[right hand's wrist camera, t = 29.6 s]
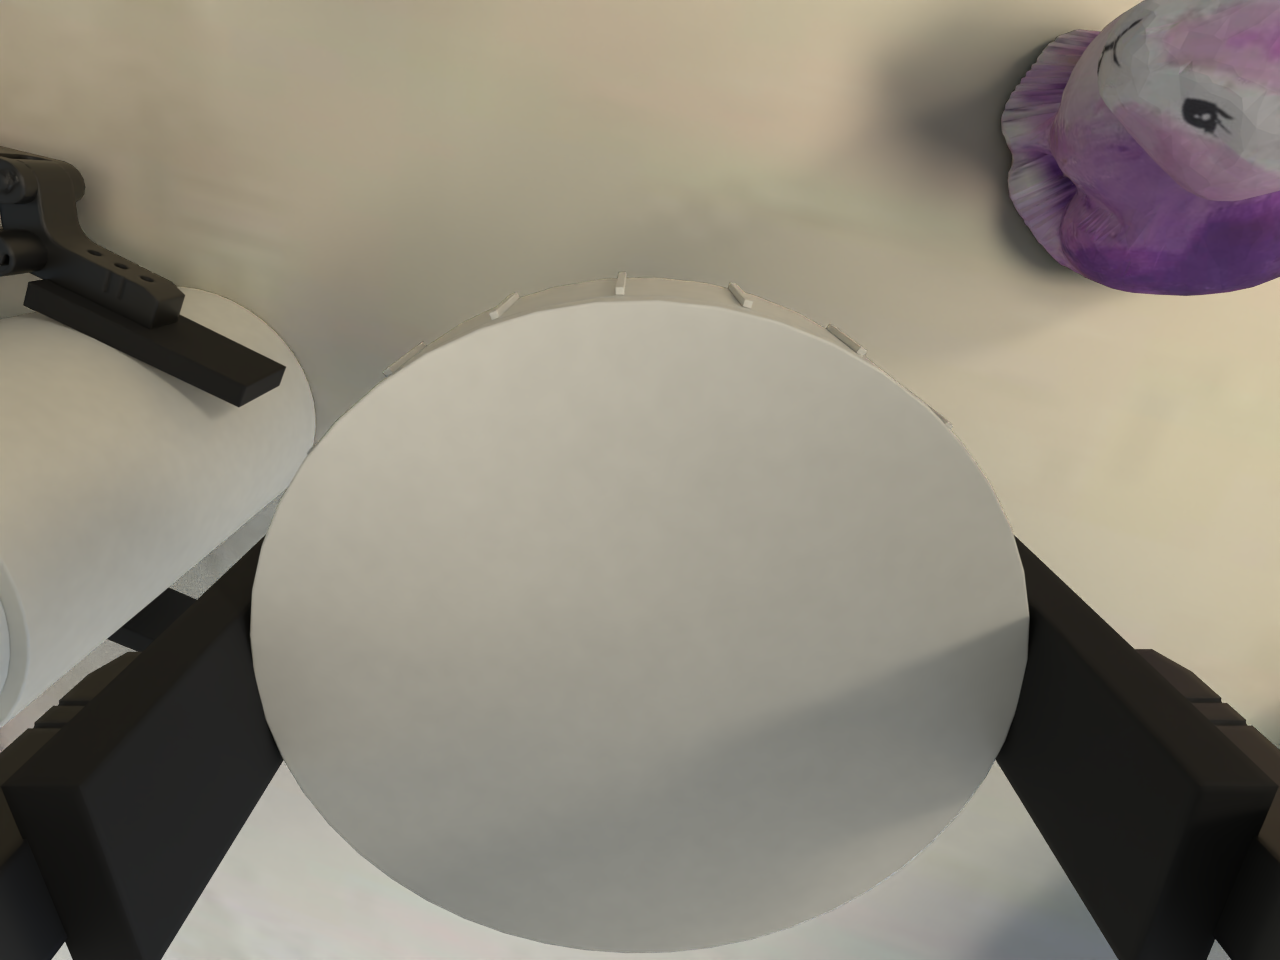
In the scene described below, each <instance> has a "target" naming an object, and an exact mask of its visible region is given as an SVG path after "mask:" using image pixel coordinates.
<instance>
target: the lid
mask: <svg viewBox="0 0 1280 960" xmlns="http://www.w3.org/2000/svg"><path fill="white" fill-rule="evenodd" d="M866 352H867V350H866V349H864V348H863V347H862V346H860V345H859V344H858V343H856V342H855V341H854V340H852V339H851V338H850V337H848V336H847V335H846V334H844V333H843V332H842V331H840V330H839V329H838V328H836V327H835V326H833V325H832V324H829V325H828V327H827V328H824V327H822V326H820V325H819V324H817V323H815V322H813V321H812V320H810V319H808V318H807V317H805V316H803V315H801V314H800V313H798V312H795V311H793V310H790V309H788V308H785V307H783V306H780V305H778V304H775V303H773V302H770V301H768V300H765V299H763V298H760V297H758V296H755V295H753V294H749V293H745V292H744V291H743V290H742V289H741V288H740V287H739V286H738V285H737V284H735V283H731V282H730V283H729V287H728V288H724V287H720V286H716V285H712V284H708V283H704V282H694V281H685V280H676V279H667V278H657V277H644V278H627V276H626V272H619V273H618V277H617V278H607V279H599V280H593V281H587V282H581V283H574V284H568V285H562V286H556V287H552V288H549V289H546V290H543V291H539V292H536V293H533V294H530V295H526V296H523V297H520V298H519V295H518V293H517V292H515V293H512V294H510V295H509V296H508V297H507V298H506V299H505V300H503V301H502V302H501V303H500V304H499V305H498V306H496V307H494V308H492V309H490V310H488V311H486V312H484V313H482V314H479V315H477V316H475V317H473V318H471V319H469V320H467V321H464V322H463V323H461V324H460V325H458V326H457V327H455V328H454V329H452V330H451V331H449V332H447V333H446V334H444V335H443V336H441V337H440V338H438V339H437V340H435V341H434V342H432V343H431V344H429V345H428V346H426V344H425V343H424V342H421V343H420V344H419V345H417V346H416V347H415V348H413V349H412V350H411V351H409V352H408V353H407V354H405V355H404V356H403V357H401V358H400V359H399V360H397V361H396V362H395V363H393V364H392V365H391V366H389V367H388V368H387V369H385V370H384V371H383V374H384V375H385V376H386V378H385V379H384V380H382V381H381V382H380V383H378V384H377V385H376V386H375V387H374V388H373V389H371V390H370V391H369V392H368V393H367V394H366V395H365V396H364V397H362V398H361V399H360V400H359V401H358V402H357V403H356V404H355V405H353V406H352V407H351V408H350V409H349V410H348V411H347V412H346V413H344V414H343V415H342V416H341V417H340V418H339V419H338V420H337V421H336V422H335V423H334V424H333V425H332V427H331V428H330V429H329V430H328V431H327V433H326V434H325V435H324V436H323V437H322V439H321V440H320V441H319V442H317V443H316V444H315V445H314V446H312V447H311V448H310V449H309V451H308V452H307V455H308V456H307V457H306V458H305V459H304V461H303V462H302V464H301V466H300V467H299V469H298V471H297V472H296V474H295V476H294V477H293V479H292V481H291V483H290V484H289V486H288V488H287V489H286V491H285V493H284V494H283V496H282V498H281V499H280V501H279V503H278V506H277V508H276V511H275V513H274V516H273V518H272V521H271V523H270V526H269V529H268V531H267V534H266V536H265V539H264V541H263V544H262V547H261V551H260V556H259V561H258V565H257V570H256V575H255V579H254V584H253V588H252V602H251V621H250V642H251V651H252V660H253V668H254V673H255V678H256V682H257V686H258V690H259V694H260V698H261V702H262V706H263V711H264V715H265V719H266V721H267V724H268V726H269V728H270V731H271V733H272V735H273V738H274V740H275V742H276V745H277V747H278V749H279V752H280V754H281V756H282V758H283V760H284V761H285V763H286V765H287V766H288V768H289V770H290V771H291V773H292V774H293V776H294V778H295V779H296V781H297V783H298V784H299V786H300V788H301V789H302V791H303V793H304V794H305V795H306V796H307V798H308V799H309V800H310V801H311V802H312V804H313V805H314V806H315V807H316V809H317V810H318V811H319V812H320V814H321V815H322V816H323V817H324V819H325V820H326V821H327V822H328V824H329V825H330V826H331V827H332V828H333V829H334V830H335V831H336V832H337V833H338V834H339V835H340V836H341V837H342V838H343V839H344V840H346V841H347V842H348V843H349V844H350V845H351V846H352V847H353V848H354V849H355V850H356V851H357V852H358V853H359V854H360V855H361V856H363V857H364V858H365V859H367V860H368V861H369V862H370V863H372V864H373V865H374V866H376V867H377V868H378V869H380V870H381V871H382V872H383V873H385V874H386V875H387V876H389V877H390V878H391V879H393V880H394V881H396V882H398V883H399V884H401V885H402V886H404V887H406V888H407V889H409V890H411V891H412V892H414V893H415V894H417V895H419V896H420V897H422V898H424V899H425V900H427V901H429V902H431V903H433V904H435V905H437V906H439V907H441V908H444V909H446V910H448V911H450V912H452V913H454V914H456V915H458V916H460V917H462V918H464V919H467V920H470V921H473V922H475V923H478V924H481V925H484V926H486V927H489V928H492V929H495V930H497V931H500V932H503V933H506V934H510V935H514V936H518V937H522V938H526V939H529V940H533V941H537V942H541V943H545V944H551V945H557V946H564V947H570V948H576V949H582V950H591V951H605V952H619V953H657V952H676V951H685V950H695V949H704V948H712V947H717V946H722V945H727V944H732V943H737V942H741V941H746V940H751V939H755V938H758V937H761V936H765V935H768V934H771V933H775V932H778V931H781V930H785V929H788V928H791V927H794V926H796V925H799V924H801V923H804V922H806V921H808V920H811V919H813V918H816V917H818V916H821V915H823V914H825V913H828V912H830V911H832V910H834V909H836V908H838V907H840V906H842V905H843V904H845V903H847V902H849V901H851V900H853V899H855V898H857V897H858V896H860V895H862V894H864V893H866V892H868V891H869V890H871V889H872V888H874V887H875V886H877V885H878V884H880V883H881V882H882V881H884V880H885V879H887V878H888V877H890V876H891V875H893V874H894V873H896V872H897V871H899V870H900V869H902V868H903V867H904V866H905V865H906V864H908V863H909V862H910V861H911V860H912V859H913V858H915V857H916V856H917V855H918V854H919V853H920V852H922V851H923V850H924V849H925V848H926V847H928V846H929V845H930V844H931V843H932V842H933V841H934V840H935V839H936V838H937V837H938V836H939V835H940V834H941V833H942V832H943V831H944V829H945V828H946V827H947V826H948V825H949V824H950V823H951V822H952V821H953V820H954V819H955V818H956V817H957V815H958V814H959V813H960V812H961V811H962V810H963V808H964V807H965V805H966V804H967V803H968V801H969V800H970V799H971V797H972V796H973V794H974V793H975V792H976V790H977V789H978V787H979V786H980V785H981V783H982V782H983V780H984V779H985V778H986V776H987V774H988V772H989V770H990V768H991V766H992V764H993V763H994V761H995V759H996V757H997V755H998V753H999V751H1000V749H1001V748H1002V746H1003V744H1004V742H1005V740H1006V737H1007V734H1008V731H1009V729H1010V726H1011V723H1012V720H1013V718H1014V715H1015V711H1016V707H1017V704H1018V699H1019V695H1020V690H1021V686H1022V682H1023V677H1024V673H1025V668H1026V664H1027V659H1028V640H1029V609H1028V600H1027V591H1026V583H1025V574H1024V569H1023V566H1022V562H1021V559H1020V555H1019V552H1018V548H1017V545H1016V541H1015V538H1014V534H1013V531H1012V527H1011V525H1010V523H1009V521H1008V519H1007V517H1006V515H1005V513H1004V510H1003V508H1002V506H1001V504H1000V502H999V500H998V498H997V496H996V493H995V491H994V489H993V487H992V485H991V483H990V482H989V480H988V479H987V478H986V476H985V475H984V473H983V472H982V470H981V469H980V467H979V466H978V464H977V463H976V461H975V460H974V458H973V457H972V456H971V454H970V453H969V451H968V450H967V448H966V447H965V445H964V444H963V443H962V442H961V440H960V439H959V438H958V437H957V436H956V435H955V434H954V433H953V432H952V431H951V430H950V429H951V428H952V427H953V426H952V424H951V423H950V422H949V421H948V420H946V419H945V418H944V417H943V416H941V415H940V414H939V413H937V412H936V411H935V410H934V409H932V408H931V407H930V406H929V405H927V404H926V403H925V402H923V401H922V400H921V399H920V398H918V397H917V396H916V395H914V394H913V393H912V392H911V391H909V390H908V389H906V388H905V387H904V386H902V385H901V384H900V383H898V382H897V381H896V380H895V379H893V378H892V377H891V376H889V375H888V374H887V373H886V372H884V371H883V370H882V369H881V368H879V367H878V366H877V365H875V364H874V363H873V362H872V361H870V360H869V359H868V358H866V357H865V356H864V355H865V354H866Z"/></svg>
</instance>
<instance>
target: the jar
mask: <svg viewBox="0 0 1280 960" xmlns="http://www.w3.org/2000/svg"><path fill="white" fill-rule="evenodd" d="M177 288H178V289H179V290H180V291H182V292H183V293H184V294H185V298H184V301H183V304H182V308H181V311H180V315H182V316H184V317H186V318H188V319H190V320H192V321H194V322H196V323H198V324H200V325H202V326H204V327H206V328H209V329H211V330H213V331H215V332H217V333H219V334H221V335H223V336H225V337H227V338H229V339H231V340H233V341H235V342H237V343H239V344H241V345H243V346H245V347H247V348H249V349H251V350H253V351H255V352H257V353H260V354H262V355H264V356H266V357H268V358H270V359H272V360H274V361H276V362H278V363H280V364H282V365H284V366H286V369H285V372H284V375H283V377H282V380H281V383H280V385H279V386H278V387H276V388H274V389H272V390H271V391H269V392H267V393H265V394H263V395H261V396H259V397H258V398H256V399H254V400H252V401H250V402H248V403H247V404H245V405H243V406H241V407H237V406H234V405H232V404H230V403H228V402H226V401H224V400H222V399H220V398H218V397H216V396H213V395H211V394H209V393H207V392H205V391H203V390H201V389H199V388H197V387H194V386H192V385H190V384H188V383H186V382H184V381H182V380H180V379H178V378H176V377H173V376H171V375H169V374H167V373H165V372H163V371H161V370H159V369H157V368H155V367H152V366H150V365H148V364H146V363H144V362H142V361H140V360H138V359H136V358H133V357H131V356H129V355H127V354H125V353H123V352H121V351H119V350H117V349H115V348H112V347H110V346H108V345H106V344H104V343H102V342H100V341H98V340H96V339H94V338H92V337H89V336H87V335H85V334H83V333H81V332H79V331H77V330H75V329H72V328H70V327H68V326H66V325H64V324H62V323H60V322H58V321H56V320H54V319H51V318H49V317H47V316H45V315H43V314H41V313H39V312H33V313H28V314H23V315H18V316H13V317H8V318H3V319H0V728H1V727H2V726H4V725H5V724H6V723H7V722H8V721H10V720H11V719H12V718H13V717H14V716H16V715H17V714H18V713H19V712H20V711H21V710H23V709H24V708H25V707H26V706H27V705H29V704H30V703H31V702H32V701H33V700H35V699H36V698H37V697H38V696H39V695H41V694H42V693H43V692H44V691H45V690H47V689H48V688H49V687H50V686H51V685H53V684H54V683H55V682H56V681H57V680H58V679H60V678H61V677H62V676H63V675H64V674H66V673H67V672H68V671H69V670H70V669H72V668H73V667H74V666H75V665H76V664H78V663H79V662H80V661H81V660H82V659H84V658H85V657H86V656H87V655H88V654H90V653H91V652H92V651H93V650H94V649H96V648H97V647H98V646H99V645H100V644H101V643H103V642H104V641H105V640H106V639H107V638H109V637H110V636H111V635H112V634H113V633H115V632H116V631H117V630H118V629H119V628H121V627H122V626H123V625H124V624H125V623H127V622H128V621H129V620H130V619H131V618H133V617H134V616H135V615H136V614H137V613H138V612H140V611H141V610H142V609H143V608H144V607H146V606H147V605H148V604H149V603H150V602H152V601H153V600H154V599H155V598H156V597H158V596H159V595H160V594H161V593H162V592H164V591H165V590H166V589H167V588H168V587H170V586H171V585H172V584H173V583H174V582H176V581H177V580H178V579H179V578H180V577H181V576H183V575H184V574H185V573H186V572H187V571H189V570H190V569H191V568H192V567H193V566H195V565H196V564H197V563H198V562H199V561H201V560H202V559H203V558H204V557H205V556H207V555H208V554H209V553H210V552H211V551H213V550H214V549H215V548H216V547H217V546H218V545H220V544H221V543H222V542H223V541H224V540H226V539H227V538H228V537H229V536H230V535H232V534H233V533H234V532H235V531H236V530H238V529H239V528H240V527H241V526H242V525H244V524H245V523H246V522H247V521H248V520H250V519H251V518H252V517H253V516H254V515H256V514H257V513H258V512H259V511H260V510H261V509H263V508H264V507H265V506H266V505H267V504H269V503H270V502H271V501H272V500H273V499H275V498H276V497H277V496H278V495H279V494H281V493H282V492H283V491H284V490H285V489H287V488H288V486H289V484H290V483H291V481H292V479H293V477H294V476H295V474H296V472H297V471H298V469H299V467H300V466H301V464H302V462H303V461H304V459H305V458H306V457H307V456H308V455H307V452H308V451H309V449H310V448H311V447H312V446H313V443H314V436H315V429H316V425H315V408H314V401H313V397H312V393H311V390H310V386H309V383H308V381H307V379H306V376H305V374H304V371H303V369H302V368H301V366H300V364H299V362H298V361H297V359H296V357H295V356H294V354H293V353H292V351H291V350H290V349H289V347H288V346H287V344H286V343H285V342H284V341H283V340H282V339H281V338H280V336H279V335H278V334H277V333H276V332H275V331H274V330H273V329H272V328H271V327H270V326H268V325H267V324H266V323H265V322H264V321H263V320H262V319H260V318H259V317H258V316H256V315H255V314H253V313H252V312H251V311H249V310H248V309H246V308H244V307H242V306H241V305H239V304H237V303H235V302H233V301H232V300H229V299H227V298H224V297H222V296H220V295H217V294H214V293H211V292H207V291H204V290H200V289H194V288H188V287H177Z"/></svg>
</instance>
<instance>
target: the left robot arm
mask: <svg viewBox="0 0 1280 960" xmlns="http://www.w3.org/2000/svg"><path fill="white" fill-rule="evenodd" d="M84 191H85V184H84V179H83V177H82V176H81V174H80V172H79V171H78V170H77V169H76V168H75V167H74V166H73V165H71V164H69V163H66V162H64V161H60V160H56V159H52V158H47V157H43V156H39V155H35V154H31V153H27V152H22V151H18V150H14V149H10V148H6V147H2V146H0V215H1V221H2V227H0V276H8V275H15V274H22V273H31V274H33V275H35V276H37V277H39V278H41V279H43V280H38V281H32V282H28V287H27V291H26V296H25V300H24V304H23V305H24V306H26V307H28V308H30V309H33V310H35V311H37V312H39V313H41V314H43V315H45V316H47V317H49V318H51V319H54V320H56V321H58V322H60V323H62V324H64V325H66V326H68V327H70V328H72V329H75V330H77V331H79V332H81V333H83V334H85V335H87V336H89V337H92V338H94V339H96V340H98V341H100V342H102V343H104V344H106V345H108V346H110V347H112V348H115V349H117V350H119V351H121V352H123V353H125V354H127V355H129V356H131V357H133V358H136V359H138V360H140V361H142V362H144V363H146V364H148V365H150V366H152V367H155V368H157V369H159V370H161V371H163V372H165V373H167V374H169V375H171V376H173V377H176V378H178V379H180V380H182V381H184V382H186V383H188V384H190V385H192V386H194V387H197V388H199V389H201V390H203V391H205V392H207V393H209V394H211V395H213V396H216V397H218V398H220V399H222V400H224V401H226V402H228V403H230V404H232V405H234V406H237V407H241V406H243V405H245V404H247V403H248V402H250V401H252V400H254V399H256V398H258V397H259V396H261V395H263V394H265V393H267V392H269V391H271V390H272V389H274V388H276V387H278V386H279V385H280V383H281V380H282V377H283V375H284V372H285V369H286V366H284V365H282V364H280V363H278V362H276V361H274V360H272V359H270V358H268V357H266V356H264V355H262V354H260V353H257V352H255V351H253V350H251V349H249V348H247V347H245V346H243V345H241V344H239V343H237V342H235V341H233V340H231V339H229V338H227V337H225V336H223V335H221V334H219V333H217V332H215V331H213V330H211V329H209V328H206V327H204V326H202V325H200V324H198V323H196V322H194V321H192V320H190V319H188V318H186V317H184V316H182V315H180V311H181V308H182V304H183V301H184V298H185V294H184V293H183V292H182V291H180V290H179V289H178V288H177V287H176V286H175V285H174V284H173V283H172V282H171V281H169V280H167V279H165V278H163V277H161V276H159V275H157V274H154V273H152V272H151V271H149V270H147V269H145V268H143V267H139V265H137V264H135V263H133V262H131V261H129V260H127V259H125V258H123V257H121V256H119V255H117V254H115V253H113V252H111V251H109V250H107V249H105V248H103V247H100V246H98V245H97V244H95V243H94V242H92V241H91V240H90V239H89V238H88V237H87V236H86V235H85V234H84V232H83V231H82V229H81V227H80V225H79V222H78V218H77V210H76V201H78V200H80V199H81V198H82V196H83V195H84ZM195 601H196V599H194V598H192V597H189V596H187V595H185V594H182V593H180V592H178V591H175V590H173V589H171V588H167V589H166V590H165V591H164V592H162V593H161V594H160V595H159V596H158V597H156V598H155V599H154V600H153V601H152V602H150V603H149V604H148V605H147V606H146V607H144V608H143V609H142V610H141V611H140V612H138V613H137V614H136V615H135V616H134V617H133V618H131V619H130V620H129V621H128V622H127V623H125V624H124V625H123V626H122V627H121V628H119V629H118V630H117V631H116V632H115V633H113V634H112V635H111V636H110V637H109V638H107V639H108V640H111V641H113V642H116V643H118V644H121V645H123V646H126V647H128V648H130V649H133V650H135V651H138V652H143V651H144V650H145V649H146V648H147V647H148V646H149V645H150V644H151V643H152V642H153V641H154V640H155V639H156V638H157V637H158V636H159V635H161V634H162V633H163V632H164V631H165V630H166V629H167V628H168V627H169V626H170V625H171V624H172V623H173V622H174V621H175V620H176V619H177V618H178V617H180V616H181V615H182V614H183V613H184V612H185V611H186V610H187V609H188V608H189V607H190V606H191V605H192V604H193V603H194V602H195Z"/></svg>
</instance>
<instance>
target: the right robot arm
mask: <svg viewBox="0 0 1280 960" xmlns="http://www.w3.org/2000/svg"><path fill="white" fill-rule="evenodd" d="M265 536H266V535H265ZM265 536H264V537H263V538H262V539H261V540H260V541H259V542H258V543H257V544H256V545H254V546H253V547H252V548H251V549H250V550H249V551H248V552H247V553H246V554H245V555H244V556H243V557H242V558H241V559H240V560H239V561H238V562H237V563H235V564H234V565H233V566H232V567H231V568H230V569H229V570H228V571H227V572H226V573H225V574H224V575H223V576H222V577H221V578H220V579H219V580H218V581H216V582H215V583H214V584H213V585H212V586H211V587H210V588H209V589H208V590H207V591H206V592H205V593H204V594H203V595H202V596H201V597H200V598H199V599H197V600H196V601H195V602H194V603H193V604H192V605H191V606H190V607H189V608H188V609H187V610H186V611H185V612H184V613H183V614H182V615H181V616H180V617H178V618H177V619H176V620H175V621H174V622H173V623H172V624H171V625H170V626H169V627H168V628H167V629H166V630H165V631H164V632H163V633H162V634H161V635H159V636H158V637H157V638H156V639H155V640H154V641H153V642H152V643H151V644H150V645H149V646H148V647H147V648H146V649H145V650H144V651H143V652H127V653H125V654H123V655H122V656H120V657H118V658H116V659H115V660H113V661H111V662H109V663H108V664H106V665H104V666H102V667H101V668H99V669H97V670H95V671H93V672H92V673H90V674H88V675H87V676H86V677H85V678H84V679H83V680H82V681H81V682H79V683H78V684H77V685H76V686H75V687H74V688H73V689H72V690H70V691H69V692H68V693H67V694H66V695H65V696H64V697H63V698H62V699H60V700H59V705H58V706H53V707H51V708H50V709H49V710H48V711H47V712H46V713H45V714H44V715H43V716H41V717H40V718H39V719H38V720H37V721H36V722H35V725H34V728H28V729H27V730H26V731H25V732H24V733H22V734H21V735H20V736H19V737H18V738H17V739H16V740H15V741H14V742H12V743H11V744H10V745H9V746H8V747H7V748H6V749H5V750H3V751H2V752H1V753H0V960H51V959H52V958H53V957H54V955H55V954H56V953H57V951H58V950H59V949H60V947H61V946H62V945H63V943H64V942H66V945H67V947H68V949H69V952H70V954H71V956H72V959H73V960H161V959H162V957H163V955H164V954H165V952H166V950H167V949H168V947H169V946H170V944H171V942H172V941H173V939H174V937H175V936H176V934H177V933H178V931H179V929H180V928H181V926H182V924H183V923H184V921H185V920H186V918H187V916H188V915H189V913H190V911H191V910H192V908H193V907H194V905H195V903H196V902H197V900H198V898H199V897H200V895H201V894H202V892H203V890H204V889H205V887H206V885H207V884H208V882H209V880H210V879H211V877H212V876H213V874H214V872H215V871H216V869H217V867H218V866H219V864H220V863H221V861H222V859H223V858H224V856H225V854H226V853H227V851H228V850H229V848H230V846H231V845H232V843H233V841H234V840H235V838H236V837H237V835H238V833H239V832H240V830H241V828H242V827H243V825H244V824H245V822H246V820H247V819H248V817H249V815H250V814H251V812H252V810H253V809H254V807H255V806H256V804H257V802H258V801H259V799H260V797H261V796H262V794H263V793H264V791H265V789H266V788H267V786H268V784H269V783H270V781H271V780H272V778H273V776H274V775H275V773H276V771H277V770H278V768H279V767H280V765H281V763H282V762H283V758H282V756H281V754H280V752H279V749H278V747H277V745H276V742H275V740H274V738H273V735H272V733H271V731H270V728H269V726H268V724H267V721H266V719H265V715H264V711H263V706H262V702H261V698H260V694H259V690H258V686H257V682H256V678H255V673H254V668H253V660H252V651H251V642H250V621H251V602H252V588H253V584H254V579H255V575H256V570H257V565H258V561H259V556H260V551H261V547H262V544H263V541H264V539H265ZM1014 538H1015V541H1016V545H1017V548H1018V552H1019V555H1020V559H1021V562H1022V566H1023V569H1024V574H1025V583H1026V591H1027V600H1028V609H1029V640H1028V659H1027V664H1026V668H1025V673H1024V677H1023V682H1022V686H1021V690H1020V695H1019V699H1018V704H1017V707H1016V711H1015V715H1014V718H1013V720H1012V723H1011V726H1010V729H1009V731H1008V734H1007V737H1006V740H1005V742H1004V744H1003V746H1002V748H1001V749H1000V751H999V753H998V755H997V757H996V761H997V762H998V764H999V766H1000V767H1001V769H1002V771H1003V772H1004V774H1005V775H1006V777H1007V779H1008V780H1009V782H1010V784H1011V785H1012V787H1013V788H1014V790H1015V792H1016V793H1017V795H1018V797H1019V798H1020V800H1021V802H1022V803H1023V805H1024V806H1025V808H1026V810H1027V811H1028V813H1029V815H1030V816H1031V818H1032V819H1033V821H1034V823H1035V824H1036V826H1037V828H1038V829H1039V831H1040V832H1041V834H1042V836H1043V837H1044V839H1045V841H1046V842H1047V844H1048V845H1049V847H1050V849H1051V850H1052V852H1053V854H1054V855H1055V857H1056V858H1057V860H1058V862H1059V863H1060V865H1061V867H1062V868H1063V870H1064V872H1065V873H1066V875H1067V876H1068V878H1069V880H1070V881H1071V883H1072V885H1073V886H1074V888H1075V889H1076V891H1077V893H1078V894H1079V896H1080V898H1081V899H1082V901H1083V902H1084V904H1085V906H1086V907H1087V909H1088V911H1089V912H1090V914H1091V915H1092V917H1093V919H1094V920H1095V922H1096V924H1097V925H1098V927H1099V928H1100V930H1101V932H1102V933H1103V935H1104V937H1105V938H1106V940H1107V942H1108V943H1109V945H1110V946H1111V948H1112V950H1113V951H1114V953H1115V955H1116V956H1117V958H1118V959H1119V960H1207V957H1208V955H1209V953H1210V950H1211V948H1212V945H1213V943H1214V941H1215V939H1216V940H1217V941H1218V943H1219V944H1220V945H1221V947H1222V948H1223V949H1224V951H1225V952H1226V953H1227V954H1228V956H1229V957H1230V958H1231V960H1280V750H1279V749H1278V748H1277V747H1276V746H1275V745H1273V744H1272V743H1271V742H1270V741H1269V740H1268V739H1267V738H1266V737H1265V736H1263V735H1262V734H1261V733H1260V732H1259V731H1258V730H1257V729H1256V728H1254V727H1253V726H1247V724H1246V720H1245V719H1244V718H1243V717H1242V716H1241V715H1240V714H1239V713H1238V712H1236V711H1235V710H1234V709H1233V708H1232V707H1231V706H1230V705H1229V704H1227V703H1222V702H1221V697H1220V696H1218V695H1217V694H1216V693H1215V692H1214V691H1213V690H1212V689H1211V688H1209V687H1208V686H1207V685H1206V684H1205V683H1204V682H1203V681H1202V680H1200V679H1199V678H1198V677H1197V676H1196V675H1195V674H1194V673H1193V672H1191V671H1190V670H1188V669H1186V668H1184V667H1182V666H1181V665H1179V664H1177V663H1175V662H1174V661H1172V660H1170V659H1168V658H1167V657H1165V656H1163V655H1161V654H1159V653H1158V652H1156V651H1154V650H1152V649H1134V648H1133V647H1132V646H1131V645H1129V644H1128V643H1127V642H1126V641H1125V640H1124V639H1123V638H1122V637H1121V636H1120V635H1119V634H1118V633H1117V632H1116V631H1115V630H1114V629H1113V628H1112V627H1110V626H1109V625H1108V624H1107V623H1106V622H1105V621H1104V620H1103V619H1102V618H1101V617H1100V616H1099V615H1098V614H1097V613H1096V612H1095V611H1094V610H1093V609H1091V608H1090V607H1089V606H1088V605H1087V604H1086V603H1085V602H1084V601H1083V600H1082V599H1081V598H1080V597H1079V596H1078V595H1077V594H1076V593H1075V592H1074V591H1072V590H1071V589H1070V588H1069V587H1068V586H1067V585H1066V584H1065V583H1064V582H1063V581H1062V580H1061V579H1060V578H1059V577H1058V576H1057V575H1056V574H1055V573H1053V572H1052V571H1051V570H1050V569H1049V568H1048V567H1047V566H1046V565H1045V564H1044V563H1043V562H1042V561H1041V560H1040V559H1039V558H1038V557H1037V556H1036V555H1034V554H1033V553H1032V552H1031V551H1030V550H1029V549H1028V548H1027V547H1026V546H1025V545H1024V544H1023V543H1022V542H1021V541H1020V540H1019V539H1018V538H1017V537H1015V536H1014Z"/></svg>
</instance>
